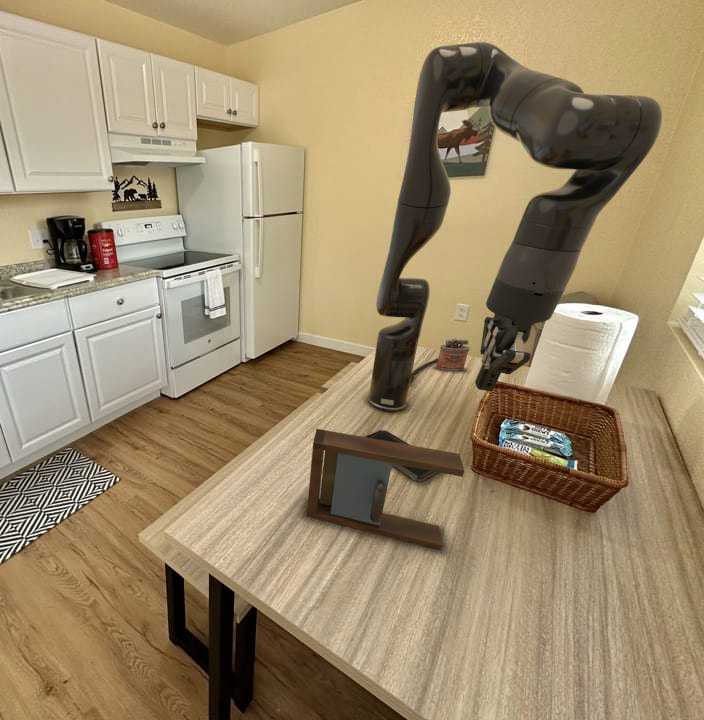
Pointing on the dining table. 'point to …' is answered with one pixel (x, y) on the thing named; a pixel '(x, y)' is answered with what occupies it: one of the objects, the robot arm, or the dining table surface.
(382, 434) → the phone
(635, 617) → the dining table surface
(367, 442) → the frame
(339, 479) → the closet door
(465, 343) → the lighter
